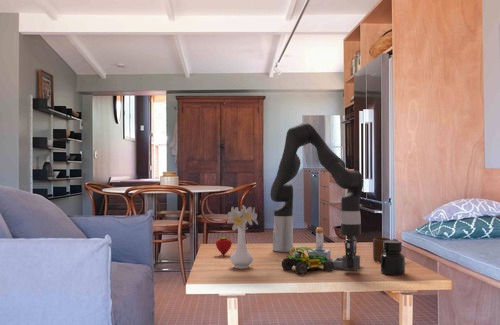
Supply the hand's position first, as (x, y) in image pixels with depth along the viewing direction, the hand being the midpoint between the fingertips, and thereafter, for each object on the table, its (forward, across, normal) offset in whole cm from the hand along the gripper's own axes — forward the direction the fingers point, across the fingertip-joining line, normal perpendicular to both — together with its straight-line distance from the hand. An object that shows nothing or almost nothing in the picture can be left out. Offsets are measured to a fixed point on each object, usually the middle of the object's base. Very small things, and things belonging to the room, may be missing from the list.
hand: (351, 266), depth 177 cm
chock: (0, 0, 0) cm, 0 cm away
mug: (+2, +30, -11) cm, 32 cm away
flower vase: (+2, -5, +43) cm, 43 cm away
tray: (+2, +9, +4) cm, 10 cm away
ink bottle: (+2, +4, -15) cm, 16 cm away
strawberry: (+2, +19, +62) cm, 65 cm away
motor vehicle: (+3, -1, +17) cm, 17 cm away
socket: (+2, +22, +17) cm, 28 cm away
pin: (+2, +22, +17) cm, 28 cm away
